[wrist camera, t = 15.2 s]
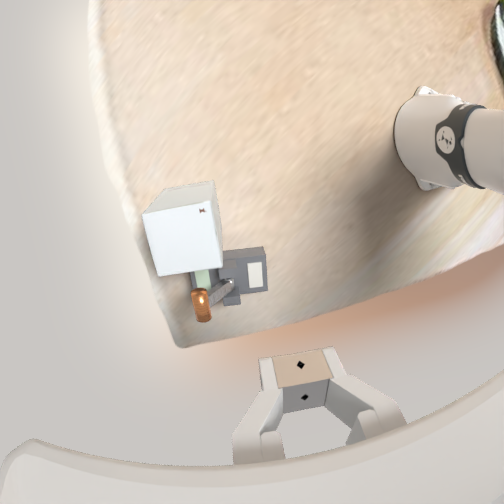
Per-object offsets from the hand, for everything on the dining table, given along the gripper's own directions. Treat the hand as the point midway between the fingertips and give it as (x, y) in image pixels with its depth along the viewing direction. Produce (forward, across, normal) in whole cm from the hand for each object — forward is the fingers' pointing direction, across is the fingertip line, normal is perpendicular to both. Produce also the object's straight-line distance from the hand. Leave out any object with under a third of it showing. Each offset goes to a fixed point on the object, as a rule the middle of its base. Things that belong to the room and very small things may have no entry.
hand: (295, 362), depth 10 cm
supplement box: (+31, +7, +1) cm, 32 cm away
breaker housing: (+31, +4, +11) cm, 33 cm away
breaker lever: (+26, +4, +11) cm, 29 cm away
